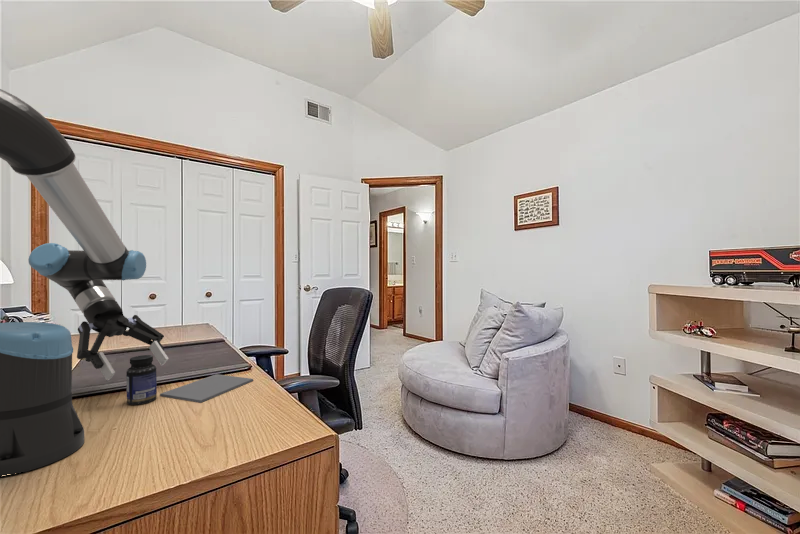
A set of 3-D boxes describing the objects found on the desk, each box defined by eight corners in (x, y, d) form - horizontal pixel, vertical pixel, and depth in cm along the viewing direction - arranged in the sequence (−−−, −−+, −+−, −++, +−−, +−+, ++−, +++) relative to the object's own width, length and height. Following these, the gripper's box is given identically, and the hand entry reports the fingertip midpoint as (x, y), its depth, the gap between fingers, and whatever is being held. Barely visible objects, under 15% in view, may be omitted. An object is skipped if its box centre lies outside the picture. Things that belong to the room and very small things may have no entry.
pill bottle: (162, 397, 93) (162, 354, 93) (143, 406, 87) (143, 360, 87) (140, 396, 93) (140, 353, 93) (119, 405, 87) (119, 359, 87)
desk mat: (200, 402, 89) (200, 400, 89) (160, 396, 94) (160, 393, 94) (253, 380, 106) (253, 378, 106) (216, 376, 110) (216, 374, 110)
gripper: (139, 311, 109) (176, 365, 105) (34, 324, 86) (75, 394, 81) (152, 294, 108) (190, 348, 103) (48, 302, 84) (91, 373, 79)
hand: (139, 369), depth 92 cm, fingers open, 13 cm apart
